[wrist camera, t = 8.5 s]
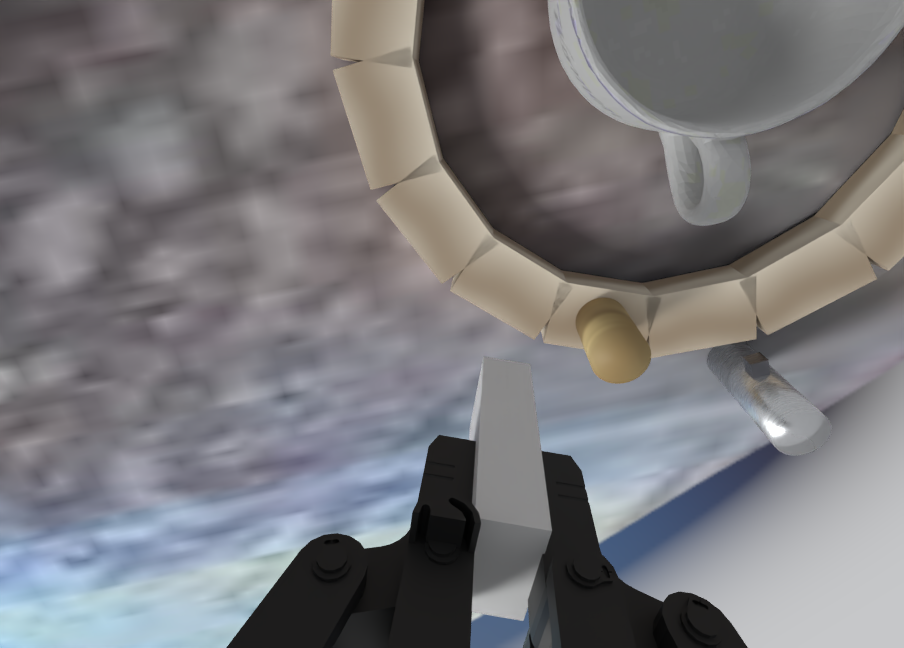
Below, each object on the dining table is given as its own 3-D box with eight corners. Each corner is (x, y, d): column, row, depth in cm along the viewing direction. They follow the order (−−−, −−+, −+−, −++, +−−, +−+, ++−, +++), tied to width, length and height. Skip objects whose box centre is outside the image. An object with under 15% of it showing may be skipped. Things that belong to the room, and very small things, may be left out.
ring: (335, 294, 27) (296, 341, 22) (366, -556, 15) (294, -941, 9) (837, 374, 27) (925, 441, 21) (1289, -424, 15) (1764, -739, 9)
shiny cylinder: (698, 372, 28) (760, 450, 21) (718, 324, 26) (790, 392, 20) (741, 378, 28) (816, 459, 21) (763, 331, 26) (850, 402, 20)
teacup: (557, -173, 18) (600, -355, 11) (843, -167, 18) (1083, -353, 11) (519, 191, 24) (532, 227, 17) (735, 204, 24) (843, 246, 17)
